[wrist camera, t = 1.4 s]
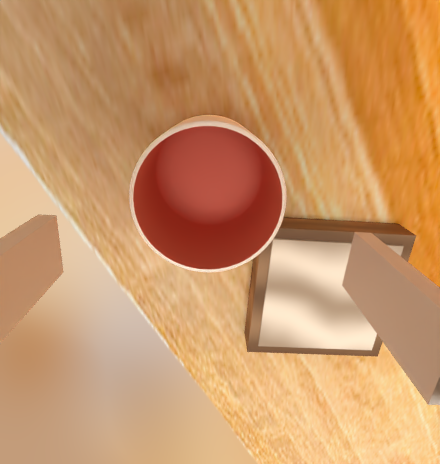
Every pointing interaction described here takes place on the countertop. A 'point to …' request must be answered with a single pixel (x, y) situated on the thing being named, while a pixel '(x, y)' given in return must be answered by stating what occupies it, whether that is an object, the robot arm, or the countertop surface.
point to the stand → (313, 289)
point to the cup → (207, 194)
